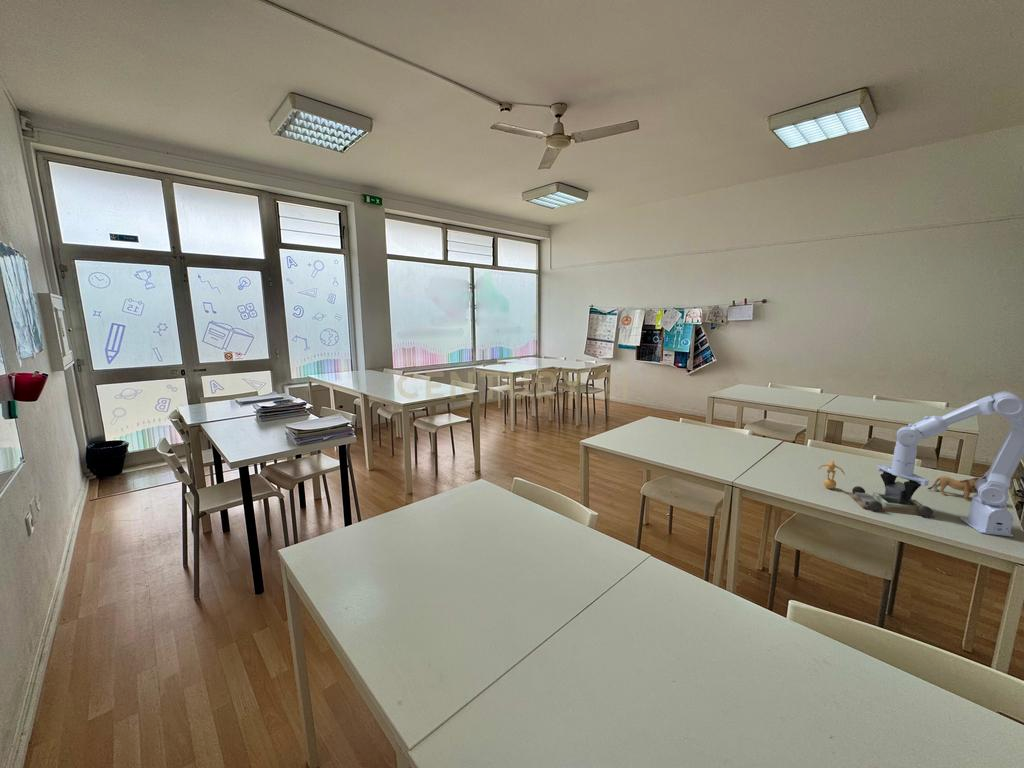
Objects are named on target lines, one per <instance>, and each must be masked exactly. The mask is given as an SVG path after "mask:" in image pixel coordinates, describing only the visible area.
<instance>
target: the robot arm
mask: <svg viewBox="0 0 1024 768" xmlns="http://www.w3.org/2000/svg"><path fill="white" fill-rule="evenodd" d="M994 412H995V413H997V414H999V415H1000V416H1001V417H1003V418H1005V419H1006V420H1007V421H1008V422H1009V423H1010V425H1011V426H1010V428H1009V430H1008V431H1007V434H1006V435H1005V438H1004V439H1003V441H1002V443H1001V445H1000V448H999V450H998V451H997V453H996V456H995V457H994V458H993V459H994V460H993V461H992V463H991V465H990V467H989V469H988V470H987V471H986V472H985V473H984V474H983V476H982V477H981V478H980V479H978V480H977V481H976V483H975V487H976V489H977V491H978V493H974V494H973V495H972V499H971V503H970V509H969V513H968V517H960V520H961V521H963V522H964V523H965V524H968V525H969V526H970V527H971V528H973V529H974V530H976V531H977V532H979V533H980V534H985V535H986V534H987V535H995V536H1005V537H1014V534H1012V533H1011V531H1012V527H1013V522H1014V516H1013V513H1012V512H1010V510H1008V508H1007V505H1008V503H1007V502H1008V501H1009V498H1010V495H1009V489H1010V487H1011V481H1012V477H1013V475H1014V474H1015V472H1016V470H1017V468H1018V467H1019V464H1020V462H1021V460H1022V458H1023V457H1024V400H1023V399H1022V398H1021V397H1020V396H1018V394H1016V393H1013V392H1011V391H999V392H996V393H994V394H993V395H988V396H984V397H982V398H980V399H977V400H975V401H972V402H971V403H967V404H966V405H964V406H961V407H959V408H958V409H955V410H952V411H951V412H948V413H946V414H944V415H942V416H939V415H932V416H931V415H930V416H929V415H925V416H924V417H923V419H922V420H919V421H917V422H915V423H908V425H907V426H902V427H900V428H899V429H898V430H897V432H896V442H895V446H894V449H893V456H892V464H891V467H889V466H886V465H882V464H880V465H879V464H877V466H876V471H877V472H882V473H880V478H881V480H882V481H883V484H884V489H885V490H886V485H889V484H892V483H895V482H896V481H897V478H900V479H903V480H907V481H904V482H903V483H904V485H905V494H904V500H905V501H908V500H910V499H912V498H911V497H913V495H914V493H915V492H916V491H917V490H918V489H919V488H920V487H922V486H923V487H927V486H929V482H930V479H927V478H924V477H922V476H919V475H917V474H915V473H914V472H915V471H914V470H915V466H916V459H917V453H918V450H917V448H918V447H917V446H918V444H920V442H921V440H926V439H928V438H931V437H933V436H936V435H938V434H942V433H944V432H946V431H948V428H949V426H950V425H953V424H956V423H959V422H961V421H964V420H966V419H967V420H968V419H970V418H971V417H975V416H978V415H986V416H987V415H989V416H994V415H995V413H994Z"/></svg>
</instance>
